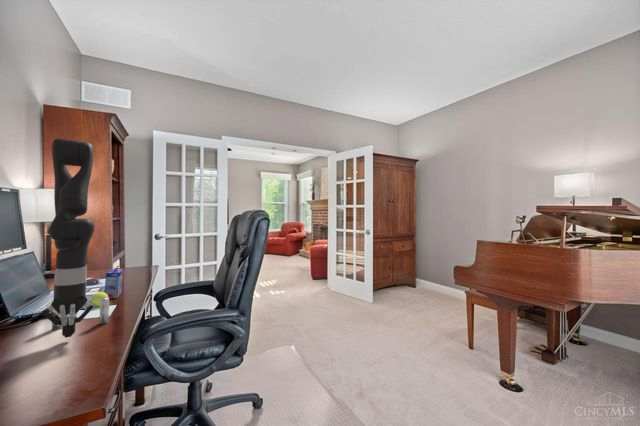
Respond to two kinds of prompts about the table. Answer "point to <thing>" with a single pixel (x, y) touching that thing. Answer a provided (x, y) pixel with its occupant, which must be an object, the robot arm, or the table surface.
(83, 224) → the robot arm
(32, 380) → the table surface
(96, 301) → the ball
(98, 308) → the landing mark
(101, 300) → the post
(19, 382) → the table surface
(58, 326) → the post
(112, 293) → the ink cartridge box
